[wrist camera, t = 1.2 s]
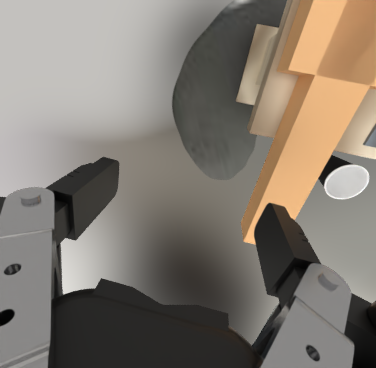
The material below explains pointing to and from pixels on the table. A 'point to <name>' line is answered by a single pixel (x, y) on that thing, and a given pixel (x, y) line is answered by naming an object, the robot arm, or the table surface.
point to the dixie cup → (343, 178)
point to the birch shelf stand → (283, 87)
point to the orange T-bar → (316, 99)
